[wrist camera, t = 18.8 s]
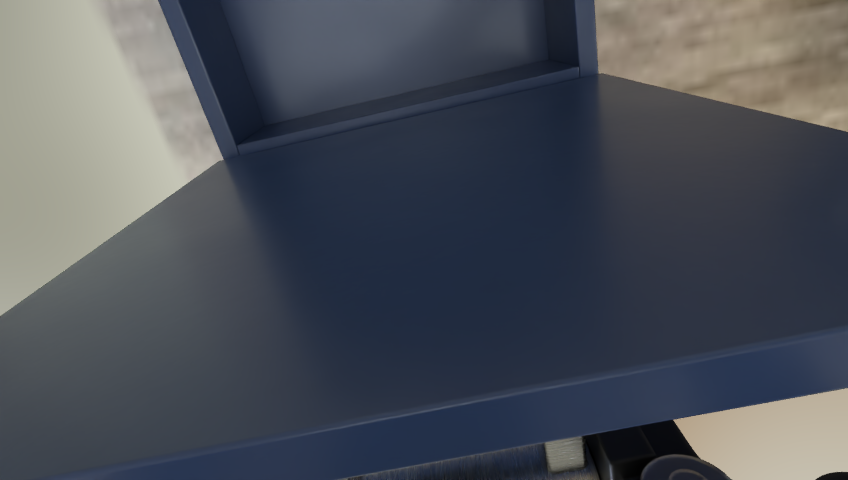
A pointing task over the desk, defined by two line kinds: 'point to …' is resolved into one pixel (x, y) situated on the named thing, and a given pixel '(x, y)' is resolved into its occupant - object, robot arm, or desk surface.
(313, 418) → the lid
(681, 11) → the desk surface
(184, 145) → the desk surface
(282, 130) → the pencil box
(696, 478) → the robot arm
